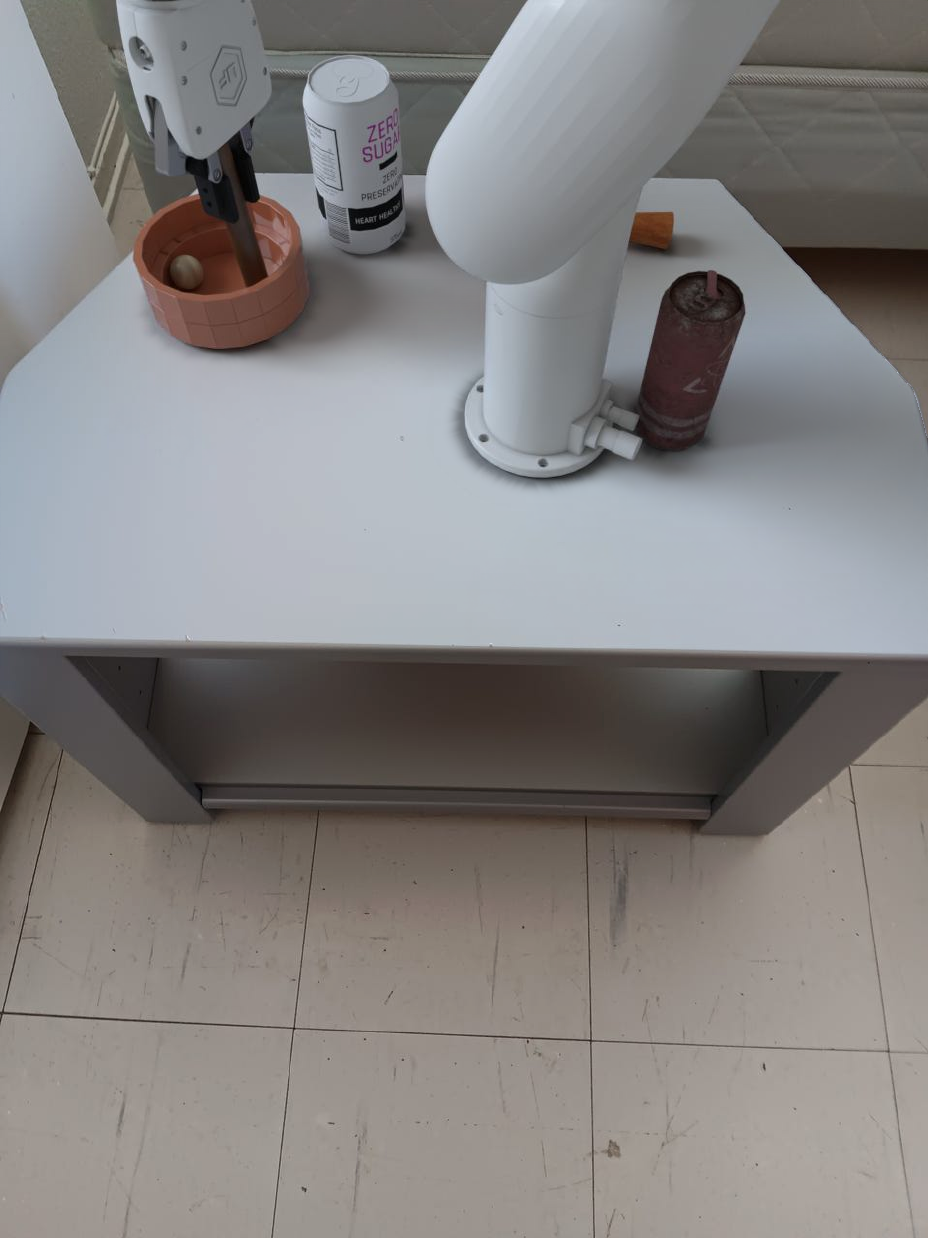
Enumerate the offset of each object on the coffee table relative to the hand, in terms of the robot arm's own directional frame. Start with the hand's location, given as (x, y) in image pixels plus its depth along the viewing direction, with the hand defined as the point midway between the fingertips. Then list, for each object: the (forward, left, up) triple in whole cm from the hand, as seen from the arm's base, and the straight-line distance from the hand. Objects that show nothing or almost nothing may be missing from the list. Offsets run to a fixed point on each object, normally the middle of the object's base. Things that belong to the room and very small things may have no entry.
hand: (232, 205), depth 75 cm
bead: (+7, +1, -9) cm, 12 cm away
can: (-39, -5, -11) cm, 41 cm away
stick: (-1, 0, -9) cm, 9 cm away
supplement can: (-3, -14, -11) cm, 19 cm away
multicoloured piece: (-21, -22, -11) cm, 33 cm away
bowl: (+3, 0, -11) cm, 12 cm away
